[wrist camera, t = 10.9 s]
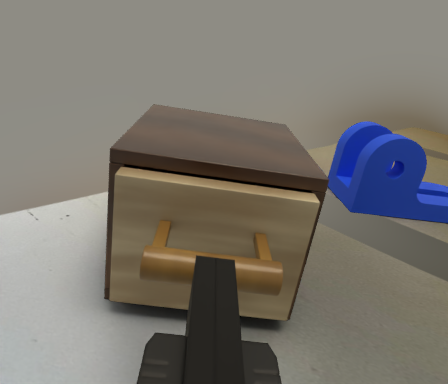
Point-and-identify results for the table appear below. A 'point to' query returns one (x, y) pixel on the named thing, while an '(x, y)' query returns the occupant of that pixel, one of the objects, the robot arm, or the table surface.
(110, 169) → the cabinet
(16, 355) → the table surface
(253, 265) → the drawer
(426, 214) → the bracket
